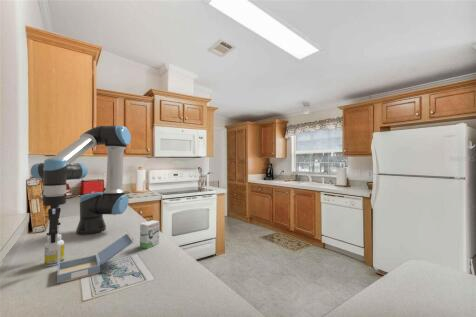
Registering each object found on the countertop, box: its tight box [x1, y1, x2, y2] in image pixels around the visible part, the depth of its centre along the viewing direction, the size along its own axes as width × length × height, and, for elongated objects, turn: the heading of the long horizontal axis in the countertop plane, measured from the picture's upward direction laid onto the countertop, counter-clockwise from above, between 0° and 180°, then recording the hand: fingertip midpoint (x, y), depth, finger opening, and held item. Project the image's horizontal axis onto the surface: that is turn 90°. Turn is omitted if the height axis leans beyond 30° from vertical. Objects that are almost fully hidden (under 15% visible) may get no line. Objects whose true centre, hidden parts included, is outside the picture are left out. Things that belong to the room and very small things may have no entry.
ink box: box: [139, 219, 160, 249], centre depth 115 cm, size 9×5×12 cm, turn 155°
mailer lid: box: [97, 231, 135, 266], centre depth 96 cm, size 12×14×2 cm
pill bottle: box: [44, 233, 65, 267], centre depth 95 cm, size 6×6×12 cm
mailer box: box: [56, 254, 101, 285], centre depth 88 cm, size 12×13×3 cm
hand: (53, 245), depth 95 cm, fingers open, 13 cm apart
